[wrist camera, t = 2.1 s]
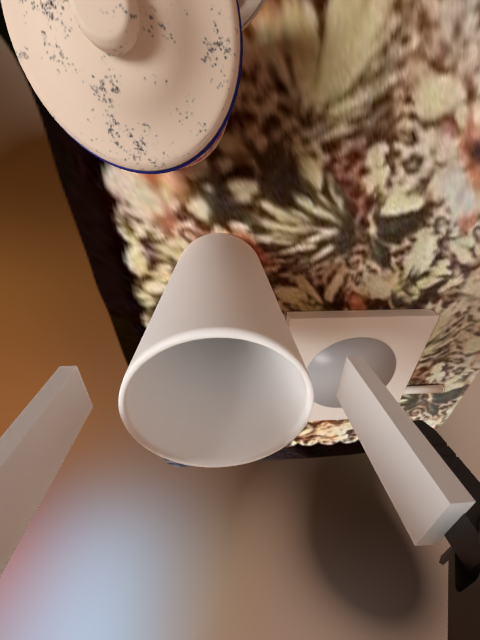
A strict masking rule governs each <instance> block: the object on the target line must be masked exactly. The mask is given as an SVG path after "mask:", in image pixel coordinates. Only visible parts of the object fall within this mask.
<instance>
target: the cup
mask: <svg viewBox="0 0 480 640" xmlns="http://www.w3.org/2000/svg"><path fill="white" fill-rule="evenodd" d="M118 404H119V412H120V416H121V419H122V421H123V423H124V425H125V427H126V429H127V430H128V432H129V433H130V434H131V435H132V437H133V438H134V439H135V440H136V441H137V442H139V443H140V444H141V445H142V446H144V447H145V448H146V449H148V450H149V451H151V452H153V453H155V454H157V455H159V456H161V457H163V458H165V459H168V460H171V461H174V462H178V463H181V464H186V465H192V466H201V467H227V466H234V465H240V464H245V463H249V462H253V461H256V460H259V459H261V458H264V457H267V456H269V455H271V454H273V453H275V452H276V451H278V450H280V449H282V448H283V447H285V446H286V445H287V444H289V443H290V442H291V441H292V440H293V439H294V438H296V437H297V435H298V434H299V433H300V432H301V431H302V430H303V428H304V427H305V425H306V424H307V422H308V420H309V418H310V416H311V413H312V409H313V404H314V393H313V387H312V383H311V380H310V376H309V373H308V371H307V369H306V366H305V364H304V362H303V359H302V357H301V355H300V352H299V350H298V348H297V345H296V343H295V341H294V338H293V336H292V334H291V331H290V329H289V327H288V325H287V322H286V320H285V318H284V315H283V313H282V311H281V308H280V306H279V304H278V301H277V299H276V297H275V294H274V292H273V290H272V288H271V285H270V283H269V281H268V278H267V276H266V274H265V271H264V269H263V267H262V264H261V262H260V260H259V258H258V256H257V254H256V252H255V251H254V250H253V248H252V247H251V246H250V245H249V244H248V243H246V242H245V241H244V240H242V239H240V238H238V237H236V236H233V235H230V234H225V233H213V234H208V235H204V236H202V237H199V238H197V239H196V240H194V241H193V242H192V243H190V244H189V245H188V246H187V247H186V248H185V250H184V251H183V253H182V254H181V256H180V258H179V260H178V263H177V265H176V267H175V269H174V271H173V273H172V275H171V277H170V280H169V282H168V284H167V286H166V288H165V290H164V292H163V294H162V297H161V299H160V301H159V303H158V305H157V307H156V309H155V312H154V314H153V316H152V318H151V320H150V322H149V324H148V326H147V329H146V331H145V333H144V335H143V337H142V339H141V341H140V344H139V346H138V348H137V350H136V352H135V354H134V356H133V359H132V361H131V363H130V365H129V367H128V369H127V372H126V374H125V376H124V379H123V382H122V385H121V388H120V393H119V401H118Z"/></svg>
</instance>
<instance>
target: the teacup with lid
mask: <svg viewBox="0 0 480 640" xmlns="http://www.w3.org/2000/svg"><path fill="white" fill-rule="evenodd" d="M265 2H266V0H1V3H2V8H3V13H4V17H5V21H6V25H7V28H8V32H9V35H10V38H11V41H12V44H13V47H14V49H15V52H16V54H17V57H18V59H19V62H20V64H21V66H22V68H23V70H24V72H25V74H26V76H27V78H28V80H29V82H30V84H31V85H32V87H33V89H34V91H35V92H36V94H37V95H38V97H39V98H40V100H41V101H42V103H43V104H44V106H45V107H46V108H47V110H48V111H49V112H50V114H51V115H52V116H53V117H54V119H55V120H56V121H57V122H58V123H59V124H60V126H61V127H62V128H63V129H64V130H65V131H66V132H67V133H68V134H69V135H70V136H71V137H72V138H73V139H74V140H75V141H76V142H77V143H79V144H80V145H81V146H82V147H83V148H85V149H86V150H87V151H89V152H90V153H91V154H93V155H95V156H96V157H98V158H99V159H101V160H103V161H105V162H107V163H109V164H111V165H113V166H115V167H118V168H120V169H124V170H127V171H131V172H136V173H143V174H160V173H167V172H171V171H175V170H177V169H183V168H187V167H191V166H193V165H196V164H198V163H199V162H201V161H203V160H204V159H205V158H206V157H208V156H209V155H210V154H211V153H212V152H213V150H214V149H215V148H216V147H217V145H218V143H219V142H220V140H221V138H222V136H223V134H224V131H225V129H226V125H227V122H228V119H229V117H230V114H231V112H232V109H233V106H234V103H235V100H236V96H237V93H238V88H239V83H240V77H241V69H242V55H243V38H242V31H243V30H244V29H245V28H246V27H247V26H248V24H249V23H250V22H251V21H252V20H253V19H254V17H255V16H256V15H257V13H258V12H259V11H260V9H261V8H262V7H263V5H264V4H265Z"/></svg>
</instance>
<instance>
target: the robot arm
mask: <svg viewBox="0 0 480 640" xmlns="http://www.w3.org/2000/svg"><path fill="white" fill-rule="evenodd" d="M336 397H337V399H338V401H339V402H340V404H341V406H342V408H343V410H344V412H345V414H346V416H347V418H348V419H349V421H350V423H351V425H352V427H353V429H354V431H355V433H356V435H357V437H358V438H359V440H360V442H361V444H362V446H363V448H364V450H365V452H366V454H367V455H368V457H369V459H370V461H371V463H372V465H373V467H374V469H375V471H376V472H377V474H378V476H379V478H380V480H381V482H382V484H383V486H384V487H385V490H386V491H387V493H388V495H389V497H390V499H391V501H392V503H393V504H394V507H395V508H396V510H397V512H398V514H399V516H400V518H401V520H402V522H403V524H404V526H405V527H406V529H407V531H408V533H409V535H410V537H411V538H412V541H413V542H414V544H415V546H419V545H430V544H437V543H438V542H439V541H440V540H441V539H442V538H443V537H444V536H445V537H446V539H447V540H448V542H449V543H450V545H451V547H450V548H449V549H448V550H447V551H446V552H445V553H444V554H443V555H442V556H441V558H440V561H439V563H441V564H443V565H444V564H445V563H446V562H447V561H448V560H449V569H448V572H449V573H448V640H480V482H479V481H478V480H477V479H476V478H475V476H474V475H473V474H472V473H471V472H470V470H469V469H468V468H467V467H466V466H465V465H464V464H463V462H462V461H461V460H460V459H459V458H458V457H456V454H455V453H454V452H453V450H452V449H451V448H450V447H449V446H447V443H446V442H445V441H444V440H443V439H442V437H441V436H440V435H439V434H438V433H437V432H436V431H435V430H434V429H433V428H432V427H430V426H429V425H428V424H426V423H425V422H424V421H422V420H416V421H412V420H411V418H410V417H409V416H408V415H407V413H406V412H405V411H404V409H403V408H402V407H401V406H400V404H399V403H398V402H397V401H396V399H395V398H394V397H393V395H392V394H391V393H390V392H389V390H388V389H387V388H386V387H385V385H384V384H383V383H382V381H381V380H380V379H379V378H378V376H377V375H376V374H375V373H374V371H373V370H372V369H371V367H370V366H369V365H368V364H367V362H366V361H365V360H364V359H363V357H362V356H347V357H346V361H345V364H344V368H343V372H342V375H341V379H340V382H339V386H338V390H337V393H336ZM92 408H93V405H92V403H91V401H90V398H89V395H88V393H87V390H86V388H85V386H84V383H83V380H82V378H81V375H80V373H79V370H78V368H77V366H61V367H59V368H58V369H57V371H56V372H55V373H54V374H53V375H52V377H51V378H50V379H49V380H48V381H47V383H46V384H45V385H44V386H43V387H42V389H41V390H40V391H39V392H38V394H37V395H36V396H35V397H34V398H33V399H32V401H31V402H30V403H29V404H28V405H27V407H26V408H25V409H24V410H23V411H22V413H21V414H20V415H19V416H18V417H17V418H16V420H15V421H14V422H13V423H12V424H11V426H10V427H9V428H8V430H6V432H5V433H4V434H3V435H2V437H1V438H0V576H1V574H2V572H3V571H4V569H5V567H6V565H7V563H8V561H9V560H10V557H11V556H12V554H13V552H14V550H15V549H16V547H17V545H18V543H19V541H20V540H21V538H22V536H23V534H24V532H25V530H26V528H27V527H28V525H29V523H30V521H31V519H32V517H33V516H34V514H35V512H36V510H37V508H38V507H39V505H40V503H41V501H42V499H43V497H44V496H45V494H46V492H47V490H48V488H49V486H50V484H51V483H52V481H53V479H54V477H55V475H56V473H57V472H58V470H59V468H60V466H61V464H62V462H63V461H64V459H65V457H66V455H67V453H68V451H69V450H70V448H71V446H72V444H73V442H74V441H75V439H76V437H77V435H78V433H79V431H80V430H81V428H82V426H83V424H84V422H85V420H86V419H87V417H88V415H89V413H90V411H91V409H92Z"/></svg>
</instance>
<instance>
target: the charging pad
mask: <svg viewBox="0 0 480 640" xmlns="http://www.w3.org/2000/svg"><path fill="white" fill-rule="evenodd" d="M439 317H440V315H439V314H437V313H435V312H434V311H432V310H431V309H398V310H350V311H302V312H287V316H286V322H287V325H288V327H289V329H290V331H291V334H292V336H293V338H294V341H295V343H296V345H297V348H298V350H299V352H300V355H301V357H302V359H303V362H304V364H305V366H306V369H307V371H308V373H309V376H310V380H311V383H312V387H313V393H314V404H313V409H312V413H311V416H310V418H309V420H308V421H317V420H337V419H348V418H347V416H346V414H345V412H344V410H343V408H342V406H341V404H340V402H339V401H338V399H337V397H336V393H337V390H338V386H339V382H340V379H341V375H342V372H343V368H344V364H345V361H346V357H347V356H362V357H363V359H364V360H365V361H366V362H367V364H368V365H369V366H370V367H371V369H372V370H373V371H374V373H375V374H376V375H377V376H378V378H379V379H380V380H381V381H382V383H383V384H384V385H385V387H386V388H387V389H388V390H389V392H390V393H391V394H392V395H393V397H394V398H395V399H396V401H397V402H398V403H399V401H400V399H401V397H402V394H418V393H441V392H444V390H445V388H444V387H443V386H442V385H423V386H407V384H408V382H409V380H410V378H411V376H412V373H413V371H414V369H415V367H416V365H417V363H418V361H419V359H420V357H421V355H422V352H423V350H424V348H425V346H426V344H427V342H428V340H429V338H430V336H431V334H432V331H433V329H434V327H435V325H436V323H437V321H438V319H439Z"/></svg>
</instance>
